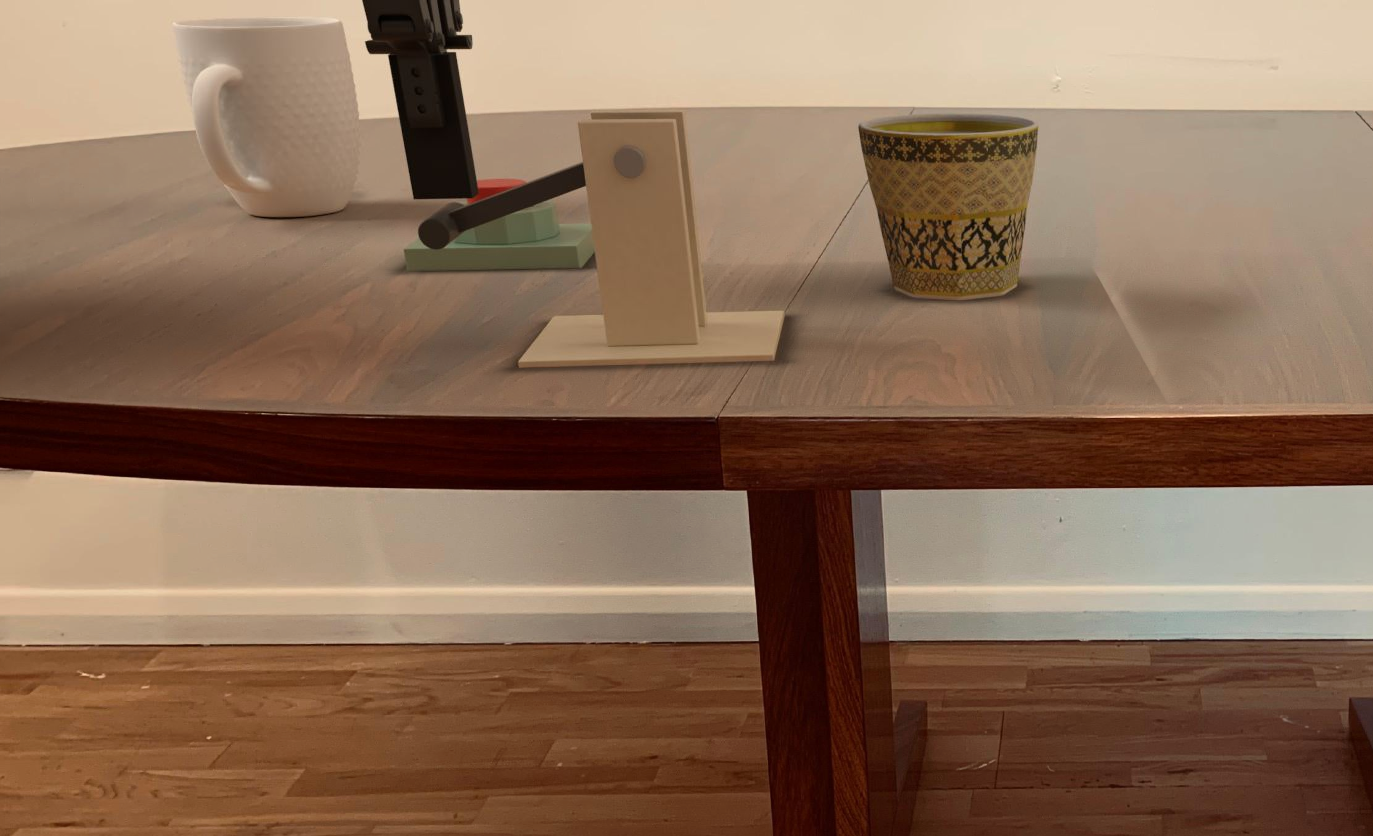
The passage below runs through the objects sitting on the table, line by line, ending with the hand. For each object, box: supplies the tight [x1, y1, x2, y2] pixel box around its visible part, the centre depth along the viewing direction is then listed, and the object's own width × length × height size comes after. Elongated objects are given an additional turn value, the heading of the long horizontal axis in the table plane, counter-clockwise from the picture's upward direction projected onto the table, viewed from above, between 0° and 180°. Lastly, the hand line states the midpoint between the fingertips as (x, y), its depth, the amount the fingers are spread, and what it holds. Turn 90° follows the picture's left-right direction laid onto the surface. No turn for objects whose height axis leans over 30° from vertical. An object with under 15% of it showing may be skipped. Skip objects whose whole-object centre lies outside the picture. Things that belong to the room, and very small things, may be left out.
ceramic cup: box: [858, 112, 1039, 301], centre depth 100 cm, size 13×10×10 cm
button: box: [466, 178, 529, 208], centre depth 107 cm, size 4×4×2 cm
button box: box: [403, 200, 595, 272], centre depth 108 cm, size 10×8×4 cm
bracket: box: [517, 108, 786, 369], centre depth 86 cm, size 12×10×12 cm
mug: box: [172, 16, 361, 218], centre depth 124 cm, size 15×11×13 cm
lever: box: [417, 118, 656, 250], centre depth 85 cm, size 12×5×2 cm, turn 99°
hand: (446, 196), depth 84 cm, fingers closed
